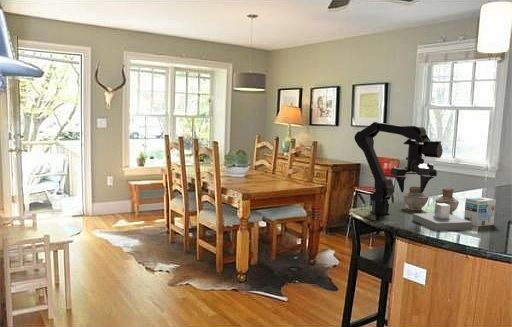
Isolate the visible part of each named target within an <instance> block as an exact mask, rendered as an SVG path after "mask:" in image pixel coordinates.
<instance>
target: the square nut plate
mask: <svg viewBox="0 0 512 327" xmlns="http://www.w3.org/2000/svg"><path fill="white" fill-rule="evenodd" d="M434 215H435V212H433V213H432V212H431V213H428V212H427V213H413V214H412V222H415V223H417V222H418V223H417V224H419V223H420V225H422V226H424V227H426V226H427V228H428V227H429V229H431V230H432V231H433V230H434V231H464V230H465V231H470V230H473V225H472V222H470V221H468V220H465V219H464V218H462V217H458V216H456V215H454V214H453V215H451V214H449V219H442V220H440V219H437V218H435V217H434Z"/></svg>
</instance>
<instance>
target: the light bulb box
mask: <svg viewBox="0 0 512 327" xmlns="http://www.w3.org/2000/svg"><path fill="white" fill-rule="evenodd" d="M496 203H497V200H496V199H495V198H494V199H493V198H488V197H484V196H478V197H466V198H465V202H464V204H465V205H464V213H463V214H464V216H463V219H465V220H468V221H470V222H472V227H485V226H493V225H494V224H495V223H494V222H495V212H496Z"/></svg>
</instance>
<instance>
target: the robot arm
mask: <svg viewBox="0 0 512 327" xmlns="http://www.w3.org/2000/svg"><path fill="white" fill-rule="evenodd" d="M379 132H383V133H389V134H394V135H398V136H399V135H400V136H403V137H404V138H406V141H404V142H403V145H408V148H407V149H408V150H407V156H406V157H405V160H406V162H407V163H406V166H405V167H404V168H402V167H392V168H391V169H390V175H392V176H393V177H394V178H395V179H396V181H397V184H398V187H399V189H400V191H401V193H404V191H405V180H406V178H407V176H406V175H418V176H419V177H420V178H419V179H420V180H419V181H420V183H419V184H420V185H419V187H420V189H421V192H422V193H423V192H424V191H425V188H427V187H426V186H427V185H428V183H429V182H430V181H431V180H432V179H434V177H437V175H438V171H437V170H436V169H434V168H435V166H434V164H433V163H432V162H431V163H430V162H429V163H425V158H434V159H440V158H441V157H442V156H443V145H442V142H441V140H435V141H432V140H431V139H430V138H429V136H428V135H427V131H426V128H425V127H424V126H421V125H404V126H403V125H399V124H398V125H397V124H393V123H392V124H391V123H384V122H381V121H373V122H372V123H371V124H370V125H368V126H367V127H364V128H363V129H362V130H360V131H357V132H356V133H355V134H354V137H353V138H354V142H355V143H356V145H357V146H358V148H360V149H361V151H362V152H363V155H364V157H365V159H366V161H367V164H368V167H369V170H370V171H371V175H372V177H373V180H374V183H373V184H374V187H373V188H374V192H373V193H371V194H370V195H369V198H370V201H372V202H371V210H369V213H372V214H374V215H376V216H382V215H383V216H384V215H385V216H386V215H388V216H389V215H390V213H389V210H390V204H389V200H390V199H391V197H392V196H393V195H394V193H395V186H394V183H393V180H392V179H391V178H387V177H386V176H385V173H384V171H383V168H382V166H381V163H380V160H379V158H378V155H377V154H376V150H375V148H374V145H375V144H374V143H375V140H374V138H375V137H376V136H377V135H378V134H379ZM423 156H424V157H425V158H423Z"/></svg>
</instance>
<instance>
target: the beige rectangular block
mask: <svg viewBox="0 0 512 327" xmlns="http://www.w3.org/2000/svg"><path fill="white" fill-rule="evenodd" d="M434 213H435V215H434V217H435V218H437V219H440V220H442V219H449V214H450V205H448V204H445V203H436V202H435V204H434Z"/></svg>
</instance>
